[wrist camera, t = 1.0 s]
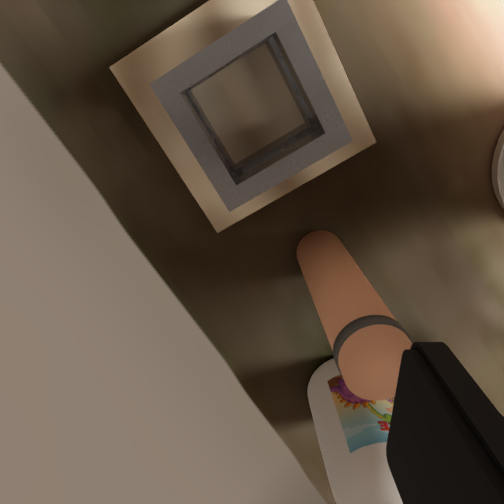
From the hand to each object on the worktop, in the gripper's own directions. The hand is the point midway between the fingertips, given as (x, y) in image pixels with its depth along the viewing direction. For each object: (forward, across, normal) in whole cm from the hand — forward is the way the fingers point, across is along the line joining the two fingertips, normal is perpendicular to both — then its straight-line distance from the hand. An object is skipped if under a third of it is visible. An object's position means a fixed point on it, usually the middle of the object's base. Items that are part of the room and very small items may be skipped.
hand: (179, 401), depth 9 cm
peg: (+26, -8, +8) cm, 29 cm away
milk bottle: (+27, -12, +22) cm, 36 cm away
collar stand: (+26, -2, -4) cm, 27 cm away
